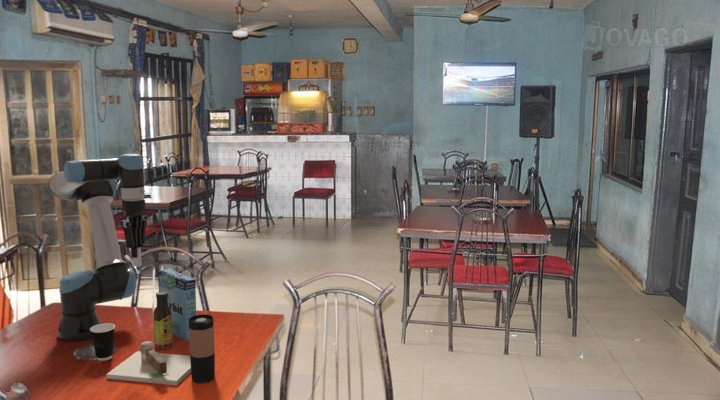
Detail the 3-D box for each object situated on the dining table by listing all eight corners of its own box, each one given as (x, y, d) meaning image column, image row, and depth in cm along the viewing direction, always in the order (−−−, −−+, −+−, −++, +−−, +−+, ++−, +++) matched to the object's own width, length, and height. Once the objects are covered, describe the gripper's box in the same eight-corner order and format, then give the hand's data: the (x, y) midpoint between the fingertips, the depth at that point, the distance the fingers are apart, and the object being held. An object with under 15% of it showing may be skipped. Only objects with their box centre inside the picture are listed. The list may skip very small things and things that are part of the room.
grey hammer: (139, 360, 197) (138, 343, 196) (151, 357, 200) (150, 340, 199) (157, 378, 184) (156, 360, 183) (170, 375, 186) (169, 357, 185)
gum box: (159, 327, 231) (157, 271, 227) (171, 324, 234) (169, 268, 231) (186, 341, 218) (183, 281, 214) (198, 337, 221) (196, 278, 218)
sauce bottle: (167, 350, 209) (164, 296, 206) (151, 349, 211) (148, 295, 207) (176, 343, 216) (173, 291, 213) (160, 342, 217) (158, 289, 214)
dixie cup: (116, 351, 208) (114, 321, 207) (117, 360, 201) (115, 329, 200) (91, 355, 205) (89, 325, 203) (92, 364, 198) (90, 333, 196)
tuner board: (105, 379, 187) (105, 374, 187) (137, 355, 205) (137, 350, 205) (176, 386, 183) (175, 380, 183) (202, 361, 201) (202, 356, 201)
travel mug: (193, 373, 192) (191, 314, 189) (217, 372, 192) (215, 313, 189) (188, 384, 184) (186, 323, 181) (213, 383, 185) (211, 322, 182)
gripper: (132, 202, 196) (136, 271, 200) (153, 196, 209) (156, 261, 212) (112, 201, 197) (116, 270, 201) (133, 196, 210) (137, 260, 214)
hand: (137, 265), depth 207 cm, fingers closed
